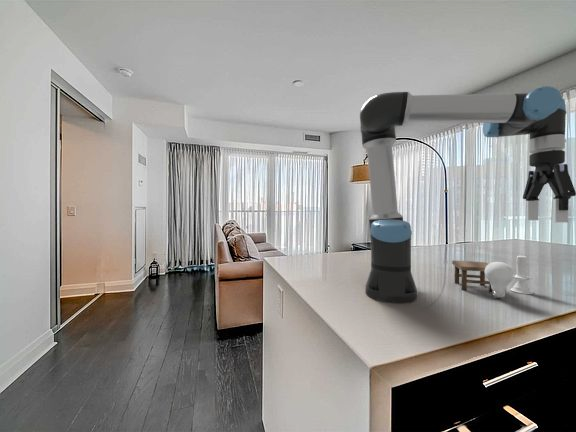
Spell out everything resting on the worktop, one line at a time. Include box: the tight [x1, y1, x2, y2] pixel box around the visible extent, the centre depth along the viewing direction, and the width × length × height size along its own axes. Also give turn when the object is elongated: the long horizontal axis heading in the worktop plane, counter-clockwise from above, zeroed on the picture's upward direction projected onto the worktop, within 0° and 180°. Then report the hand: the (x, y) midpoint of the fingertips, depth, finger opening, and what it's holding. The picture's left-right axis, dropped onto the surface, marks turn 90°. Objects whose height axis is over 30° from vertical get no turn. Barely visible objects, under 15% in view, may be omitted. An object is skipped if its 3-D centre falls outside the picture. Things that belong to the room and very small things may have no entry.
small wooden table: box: [451, 260, 493, 294], centre depth 84 cm, size 10×10×8 cm
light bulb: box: [485, 261, 515, 300], centre depth 73 cm, size 7×7×11 cm
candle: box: [509, 254, 534, 295], centre depth 80 cm, size 5×5×12 cm
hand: (545, 221), depth 76 cm, fingers open, 13 cm apart
